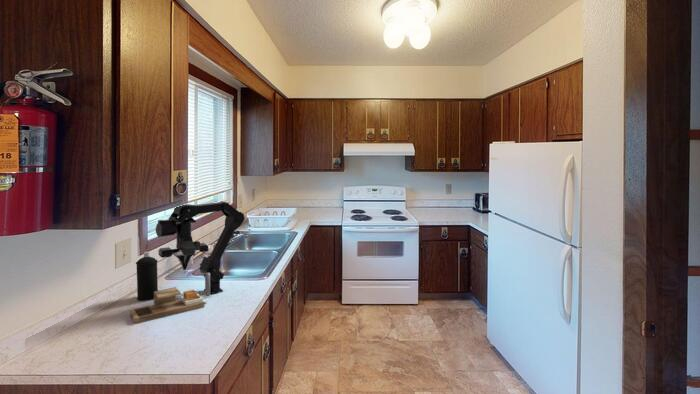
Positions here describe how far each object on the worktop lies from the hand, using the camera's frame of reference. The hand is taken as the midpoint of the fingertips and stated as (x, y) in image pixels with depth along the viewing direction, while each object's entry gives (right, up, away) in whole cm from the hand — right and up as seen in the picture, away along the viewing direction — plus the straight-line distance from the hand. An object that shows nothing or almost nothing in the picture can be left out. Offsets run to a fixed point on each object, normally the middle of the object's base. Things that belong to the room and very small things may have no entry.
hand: (184, 269), depth 155 cm
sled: (+7, -12, -4) cm, 14 cm away
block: (+5, -12, -6) cm, 14 cm away
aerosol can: (-17, -13, +2) cm, 21 cm away
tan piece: (-1, -14, -11) cm, 18 cm away
